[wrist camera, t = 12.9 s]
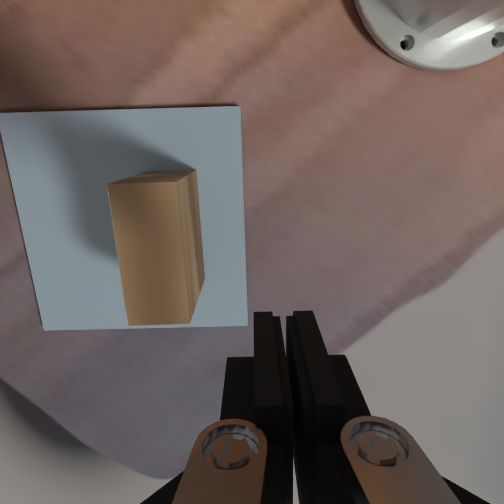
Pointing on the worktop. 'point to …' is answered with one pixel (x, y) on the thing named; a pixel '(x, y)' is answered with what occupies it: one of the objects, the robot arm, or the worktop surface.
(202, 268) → the wooden block
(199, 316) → the rubber mat
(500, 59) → the worktop surface
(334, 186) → the worktop surface
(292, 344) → the robot arm
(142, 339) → the worktop surface
